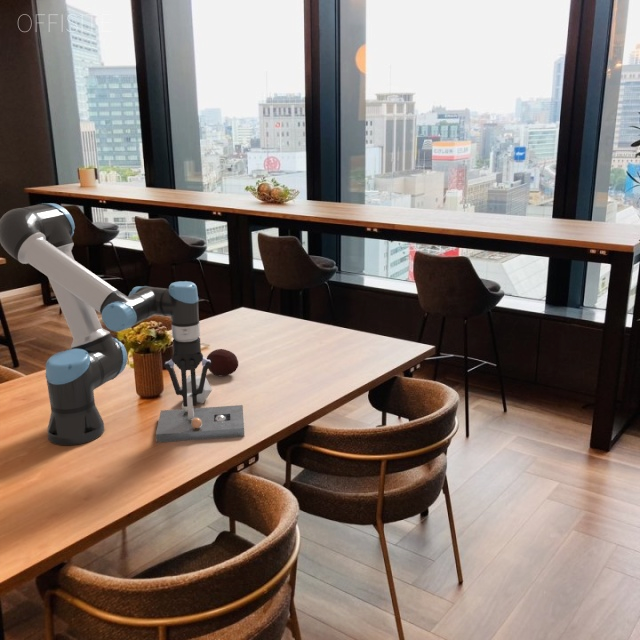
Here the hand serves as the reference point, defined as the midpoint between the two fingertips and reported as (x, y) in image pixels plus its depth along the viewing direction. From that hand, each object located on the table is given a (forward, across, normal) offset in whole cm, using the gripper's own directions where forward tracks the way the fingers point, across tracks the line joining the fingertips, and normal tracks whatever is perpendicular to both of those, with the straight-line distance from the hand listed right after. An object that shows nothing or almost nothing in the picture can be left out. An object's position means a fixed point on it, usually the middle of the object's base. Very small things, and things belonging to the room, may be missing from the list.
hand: (190, 416), depth 198 cm
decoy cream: (-1, -1, +6) cm, 6 cm away
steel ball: (+2, +8, -1) cm, 8 cm away
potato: (+4, +9, +40) cm, 41 cm away
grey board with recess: (+3, +3, 0) cm, 4 cm away
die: (+4, +1, +19) cm, 20 cm away
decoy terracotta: (-1, +2, -6) cm, 6 cm away
